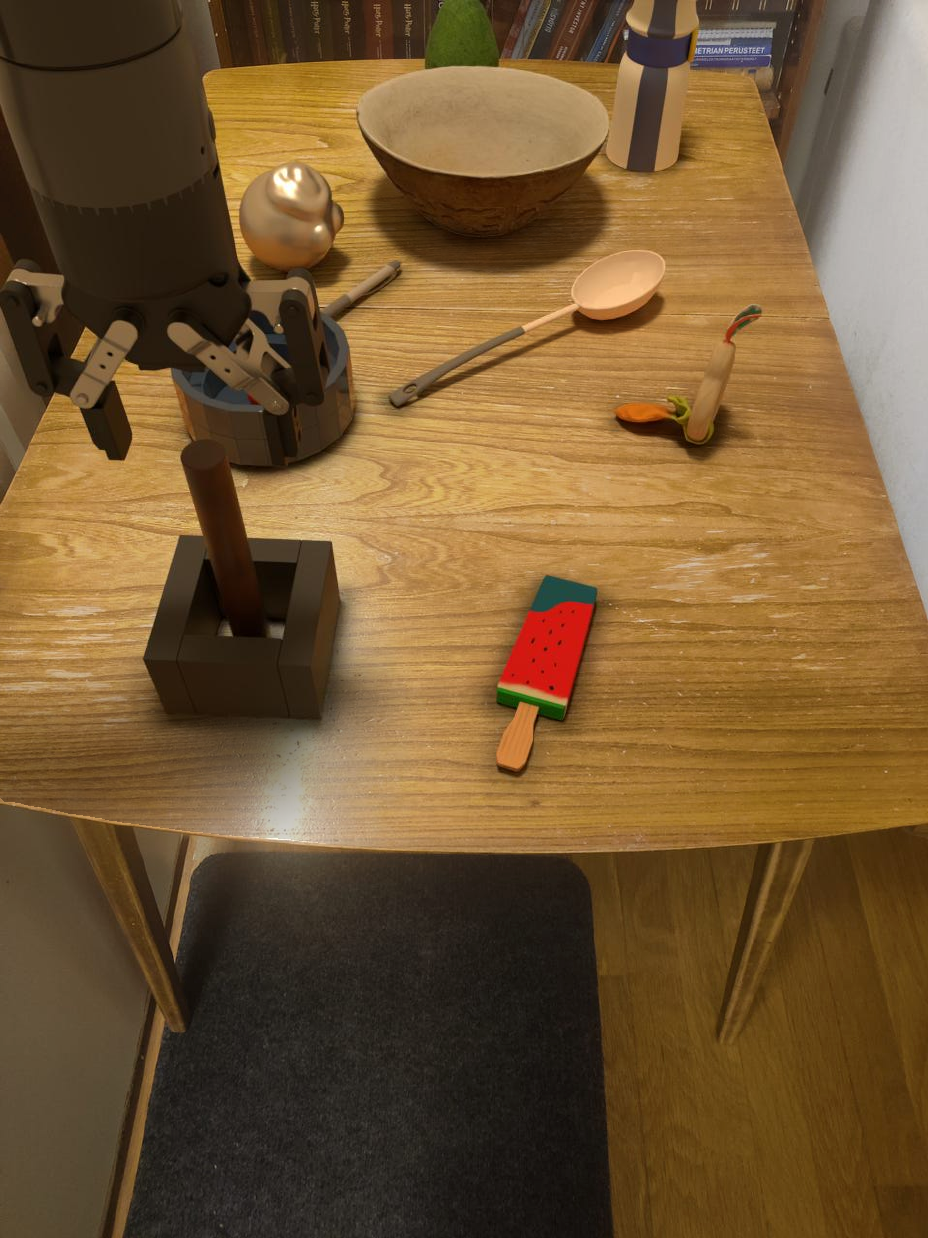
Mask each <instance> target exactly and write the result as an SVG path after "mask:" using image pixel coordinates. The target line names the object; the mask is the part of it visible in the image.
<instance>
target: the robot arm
mask: <svg viewBox="0 0 928 1238" xmlns="http://www.w3.org/2000/svg"><path fill="white" fill-rule="evenodd" d="M183 14H184V13H183V8H182V2H181V0H0V108H1V111H2V114H3V117H4V121H5V124H6V127H7V129H8V132H9V135H10V137H11V141H12V144H13V146H14V149H15V151H16V154H17V157H18V160H19V163H20V165H21V169H22V172H23V174H24V176H25V179H26V182H27V185H28V187H29V191H30V194H31V196H32V199H33V201H34V204H35V207H36V211H37V213H38V215H39V219H40V221H41V224H42V227H43V230H44V233H45V236H46V238H47V240H48V241H47V242H48V244H49V246H50V249H51V252H52V255H53V257H54V261H55V263H56V265H57V268H58V270H59V272H60V273H61V274H55V273H44V272H43V270H42V268H41V267H40V265H39V264H38V263H37V262H35V261H33V260H31V259H28V258H21V259H19V260H17V262H16V263H15V265H14V266H13V268H12V270H11V272H10V273H9V276H7V277H8V278H7V279H6V281H5V282H4V284H3V286H2V288H1V290H0V309H1V311H2V313H3V318H4V320H5V323H6V325H7V328H8V331H9V334H10V337H11V340H12V342H13V345H14V348H15V351H16V354H17V356H18V360H19V362H20V365H21V368H22V371H23V374H24V375H25V376H24V377H25V379H26V383H27V385H28V387H29V389H30V390H31V392H33V393H34V394H35V395H37V396H38V397H39V396H40V397H43V398H50V397H52V396H53V395H54V394H59V395H62V396H65V397H67V398H69V399H70V401H71V403H73V404H74V406H76V407H78V408H79V411H80V413H81V416H82V419H83V421H84V424H85V426H86V428H87V431H88V434H89V437H90V439H91V442H92V444H93V445H94V446H95V447H96V448H97V449H98V450H99V451H105V454H106V457H107V459H108V460H109V461H119V462H125V460H126V458H127V455H128V454H129V450H130V447H131V445H132V441H133V430H132V427H131V423H130V422H129V418H128V416H127V413H126V409H125V407H124V403H123V401H122V398H121V394H120V392H119V389H118V386H117V383H116V380H114V379H113V378H114V376H115V375H116V373H117V371H118V370H119V368H120V366H121V365H122V363H123V361H124V360H125V361H126V362H128V363H131V364H133V365H136V366H137V367H138V370H139V371H145V372H148V371H150V372H156V371H157V372H158V371H161V370H167V369H171V368H174V369H179V370H183V371H187V372H205V370H206V367H208V368H209V369H211V370H212V371H213V372H214V373H215V374H216V375H217V376H219V377H220V378H221V379H222V380H223V381H224V382H225V383H227V384H228V385H229V386H230V387H231V388H232V389H234V390H240V389H242V390H244V391H246V392H247V393H248V394H249V395H250V396H251V397H252V398H253V399H255V400H256V401H257V402H258V403H259V404H260V405H261V406H263V407H264V410H263V413H262V418H263V423H264V427H265V432H266V437H267V442H268V447H269V452H270V457H271V462H272V467H275V468H279V467H280V468H288V465H289V463H288V461H289V457H296V455H297V452H298V449H299V444H300V440H301V435H302V427H301V421H300V415H299V409H298V404H301V403H304V404H306V405H308V406H319V405H321V404H322V403H323V402H324V398H325V393H326V391H325V388H326V383H327V378H328V376H329V374H330V369H331V363H330V358H329V353H328V348H327V343H326V339H325V334H324V329H323V324H322V319H321V314H320V311H321V309H320V304H319V298H318V295H317V290H316V285H315V279H314V276H313V274H312V273H311V272H310V271H309V270H308V269H303V268H294V269H292V270H290V271H289V272H288V273H287V276H286V279H272V280H271V279H268V280H267V279H266V280H252V278H251V277H250V276H249V274H248V273H247V272H246V270H245V269H244V268H243V266H242V265H241V262H240V261H239V258H238V257H239V256H238V252H237V248H236V247H237V246H236V241H235V235H234V230H233V226H232V225H233V224H232V221H231V215H230V210H229V205H228V200H227V195H226V190H225V185H224V180H223V175H222V170H221V164H220V160H219V154H218V149H217V144H216V139H217V131H216V126H215V120H214V116H213V111H212V110H211V109H210V107H209V103H208V98H207V93H206V89H205V85H204V81H203V77H202V74H201V71H200V67H199V64H198V60H197V57H196V54H195V52H194V49H193V46H192V43H191V40H190V36H189V34H188V30H187V27H186V21H185V18H184V15H183ZM62 306H64V308H65V309H66V311H68V313H69V314H70V315H71V316H73V317H74V318H75V319H76V320H77V321H78V322H80V323H81V324H82V325H83V326H84V327H85V328H87V329H88V330H89V331H90V332H91V333H92V334H93V335H95V336H96V340H95V342H94V343H93V345H92V347H91V349H90V351H89V352H88V354H87V356H86V357H85V359H84V361H82V360H79V359H76V358H72V357H70V356H69V353H68V350H67V347H66V344H65V341H64V337H63V335H62V331H61V328H60V324H59V321H58V317H57V316H58V314H59V312H60V310H61V308H62ZM251 310H256V311H259V312H261V313H263V314H264V315H265V316H266V317H267V318H268V320H269V323H270V324H271V325H272V327H274V331H275V332H276V333H277V334H283V333H284V335H285V339H286V343H287V347H288V351H289V356H290V360H291V364H292V367H291V366H290V365H289V364H288V363H287V362H286V361H285V360H284V359H283V358H282V357H281V356H279V355H278V354H277V353H276V352H275V351H274V350H273V349H272V348H271V347H270V346H269V344H268V341H267V338H266V336H265V334H264V333H263V332H262V331H261V330H260V329H259V328H258V327H257V326H256V325H255V324H254V323H253V322H252V321H251V320H250V319H249V316H250V313H251ZM233 341H234V343H235V345H236V348H237V351H236V355H235V354H234V353H233V352H232V351H231V350H229V349H228V348H229V346H230V345H231V343H232V342H233Z"/></svg>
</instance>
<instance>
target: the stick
mask: <svg viewBox="0 0 928 1238" xmlns="http://www.w3.org/2000/svg"><path fill="white" fill-rule="evenodd" d="M179 460H180V463H181V467H182V469H183V472H184V477H185V479H186V483H187V486H188V490H189V493H190V497H191V500H192V503H193V506H194V511H195V514H196V517H197V520H198V523H199V528H200V530H201V534H202V536H203V537H204V541H205V544H206V548H207V551H208V554H209V558H210V561H211V565H212V568H213V571H214V575H215V578H216V581H217V585H218V588H219V592H220V595H221V598H222V602H223V605H224V609H225V612H226V615H227V616H226V618H227V622H228V625H229V626H228V627H229V629H230V632H231V636H236V637H260V638H273V637H272V633H271V629H270V624H269V621H268V620H269V619H268V618H267V616H266V612H265V608H264V603H263V599H262V595H261V591H260V587H259V583H258V579H257V575H256V571H255V566H254V562H253V558H252V554H251V550H250V546H249V542H248V538H249V537H248V535H247V530H246V526H245V522H244V518H243V513H242V510H241V506H240V501H239V497H238V493H237V490H236V489H237V488H236V485H235V481H234V477H233V472H232V468H231V464H230V462H229V460H228V456H227V452H226V448H225V447H224V445H223V444H221V443H220V442H218V441H216V440H212V439H201V440H196V441H194V440H193V441H192V442H189V443H188V444H187V445H186V446H184V448H183V449H182V450H181V452H180V459H179Z"/></svg>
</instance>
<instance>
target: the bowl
mask: <svg viewBox="0 0 928 1238" xmlns="http://www.w3.org/2000/svg"><path fill="white" fill-rule="evenodd" d="M355 112H356V113H355V115H356V122H357V125H358V128H359V130H360V133H361V136H362V138H363V140H364V142H365V144H366V145H367V147H368V149H369V150H370V152H371V153H372V155H373V156H374V158H375V160H376V162H377V163H378V165H380V167H381V168H382V170H383V171H384V172H385V174H386V176H387V179H389V181H390V182H391V183H392V185H393V186H394V187H395V188H396V189H397V191H398V192H399V194H400V195H402V197H403V198H405V200H406V201H407V202H408V203H409V204H410V205H411V206H412V208H414V209H415V210H416V211H417V212H418V213H419V214H420V215H421V216H423V217H424V218H425V219H427V220H428V221H430V222H431V223H432V224H433V225H435V226H437V227H438V228H440V229H443V230H445V231H448V232H450V233H454V234H456V235H457V234H458V235H462V236H466V237H476V238H477V237H483V238H485V237H496V236H504V235H507V234H509V233H513V232H516V231H518V230H520V229H521V228H524V227H525V226H527V225H528V224H530V223H531V222H533V221H534V220H536V219H537V218H538V217H540V215H542V214H544V213H545V212H546V211H548V210H549V209H550V208H551V207H552V206H553V205H555V203H556V202H558V201H559V200H560V199H561V198H563V196H564V195H565V194H566V193H567V192H568V191H569V190H571V189H572V187H573V186H574V185H575V184H576V183H577V182H578V181H579V180H580V178H581V177H582V176H583V175H584V173H585V172H586V171H587V169H588V168H589V167H590V166H591V164H592V163H593V161H594V160H595V159H596V157H597V156H598V154H599V153H600V152H601V150H602V148H603V146H604V145H605V143H606V141H607V139H608V137H609V131H610V116H609V112H608V110H607V108H606V106H605V105H604V103H603V102H602V100H601V99H600V98H599V97H597V96H596V95H595V94H594V93H592V92H590V91H588V90H587V89H584V88H582V87H580V86H578V85H576V84H575V83H571V82H569V81H565V80H562V79H560V78H557V77H554V76H551V75H547V74H543V73H537V72H534V71H529V70H523V69H518V68H513V67H504V66H499V67H488V66H450V67H439V68H434V69H426V70H425V69H421V70H416V71H411V72H407V73H404V74H401V75H399V76H396V77H394V78H391V79H388V80H385V81H382V82H381V83H379V84H377V85H375V86H373V87H372V88H370V89H368V90H366V92H364V93H363V94H362V95H361V96H360V97H359V99H358V101H357V107H356V110H355Z"/></svg>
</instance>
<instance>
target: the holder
mask: <svg viewBox="0 0 928 1238" xmlns="http://www.w3.org/2000/svg"><path fill="white" fill-rule="evenodd" d="M247 538H248V542H249V546H250V550H251V554H252V558H253V562H254V566H255V571H256V575H257V579H258V583H259V587H260V591H261V595H262V599H263V603H264V608H265V612H266V616H267V619H285V623H284V628H283V634H282V638H281V637H272V638H260V637H236V636H232V635H217V634H218V629H219V625H220V622H221V618H222V617H227V615H226V612H225V609H224V605H223V602H222V598H221V595H220V592H219V588H218V585H217V581H216V578H215V575H214V571H213V568H212V565H211V561H210V558H209V554H208V551H207V548H206V544H205V541H204V537H203V535H198V534H197V535H195V534H194V535H193V534H179V537H178V539H177V543H176V546H175V549H174V552H173V556H172V559H171V564H170V567H169V569H168V573H167V577H166V580H165V582H164V583H165V584H164V587H163V590H162V594H161V598H160V600H159V603H158V607H157V610H156V614H155V617H154V621H153V623H152V627H151V630H150V634H149V636H148V640H147V644H146V647H145V650H144V654H143V658H142V661H143V664H144V666H145V668H146V670H147V672H148V675H149V677H150V679H151V682H152V684H153V686H154V689H155V691H156V693H157V696H158V698H159V700H160V703H161V705H162V707H163V710H164V712H165V714H170V715H171V714H174V715H195V716H196V715H203V716H205V715H206V716H223V717H224V716H225V717H249V718H268V719H269V718H271V719H273V718H274V719H294V720H295V719H296V720H314V721H315V720H317V721H318V720H319V721H321V720H322V716H323V711H324V705H325V698H326V691H327V687H328V686H327V684H328V678H329V673H330V665H331V659H332V653H333V647H334V640H335V635H336V629H337V628H336V627H337V623H338V622H337V621H338V615H339V609H340V602H341V595H340V587H339V580H338V575H337V568H336V567H337V566H336V560H335V554H334V547H333V542H332V541H331V540H317V539H316V540H315V539H312V540H311V539H302V540H301V539H294V538H293V539H290V538H265V537H247Z"/></svg>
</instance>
